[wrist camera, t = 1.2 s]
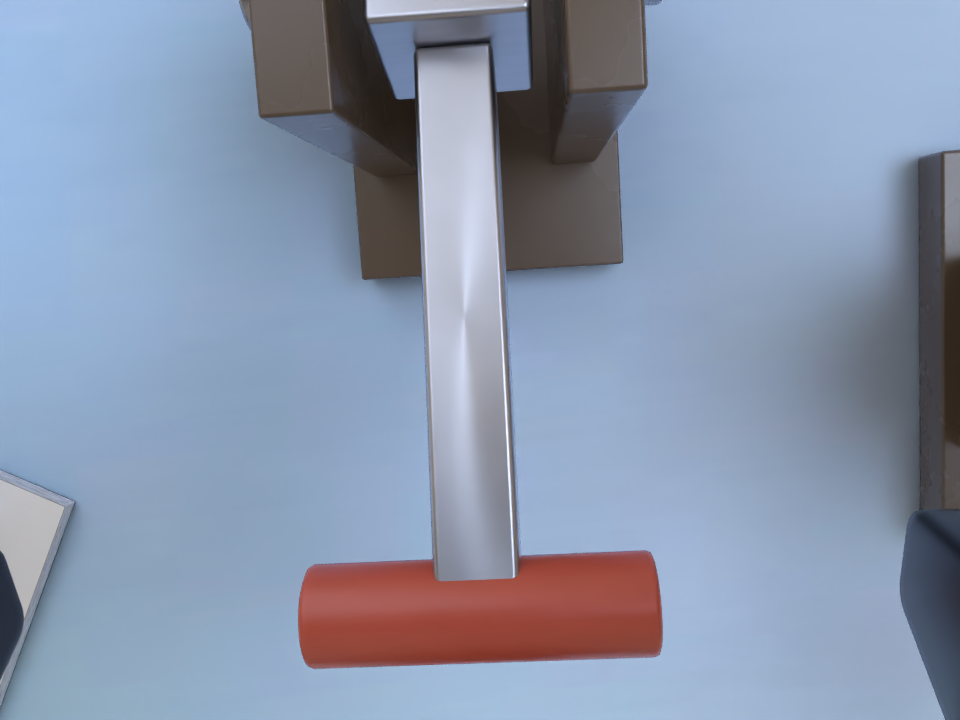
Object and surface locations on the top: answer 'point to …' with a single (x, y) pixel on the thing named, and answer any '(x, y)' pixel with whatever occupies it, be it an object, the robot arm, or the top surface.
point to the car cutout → (29, 545)
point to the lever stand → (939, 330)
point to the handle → (470, 399)
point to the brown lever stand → (521, 117)
